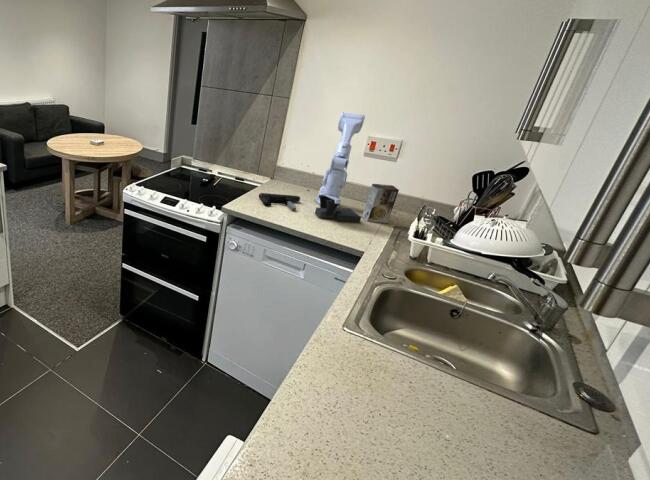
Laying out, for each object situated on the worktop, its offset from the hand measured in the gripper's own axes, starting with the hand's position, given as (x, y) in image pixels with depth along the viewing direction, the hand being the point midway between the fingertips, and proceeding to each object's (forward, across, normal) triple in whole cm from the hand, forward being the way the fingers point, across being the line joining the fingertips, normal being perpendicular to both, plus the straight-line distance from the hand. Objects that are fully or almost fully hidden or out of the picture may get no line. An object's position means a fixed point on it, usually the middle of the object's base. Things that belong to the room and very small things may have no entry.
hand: (325, 213), depth 176 cm
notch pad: (+2, 0, +9) cm, 9 cm away
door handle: (+2, -13, -15) cm, 20 cm away
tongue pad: (+1, 0, +1) cm, 2 cm away
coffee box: (+2, 0, +24) cm, 24 cm away
